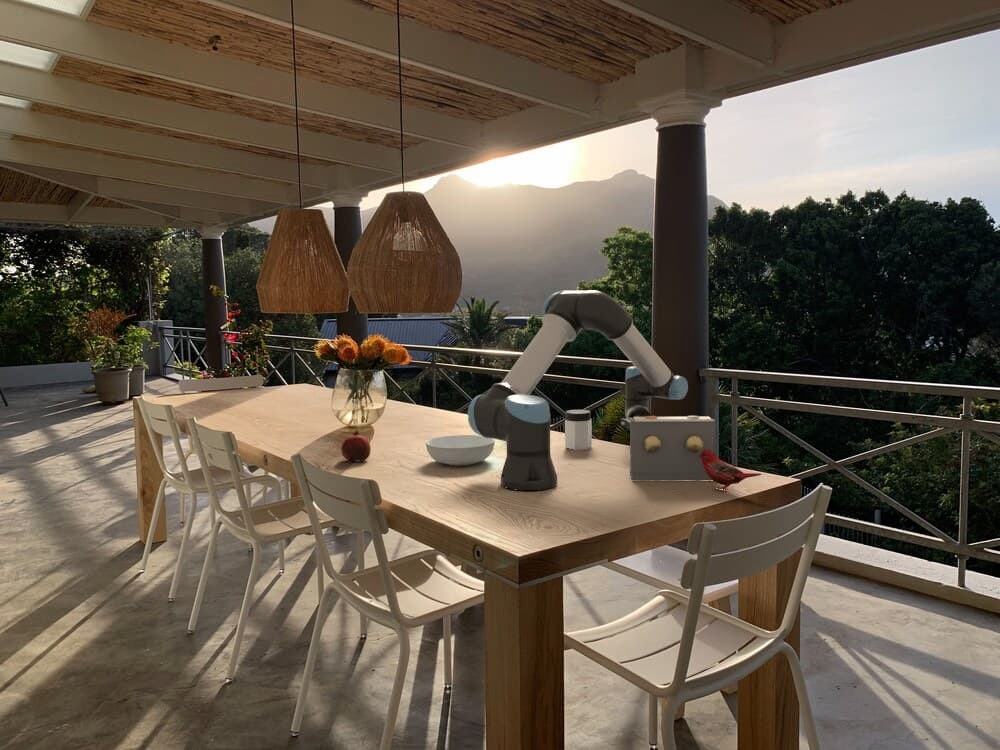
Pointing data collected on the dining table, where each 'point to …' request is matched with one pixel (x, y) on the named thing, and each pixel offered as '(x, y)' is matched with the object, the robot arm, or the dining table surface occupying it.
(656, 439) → the brass knob
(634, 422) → the console
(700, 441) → the knob
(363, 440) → the fruit
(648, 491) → the dining table surface
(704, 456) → the decorative bird figurine
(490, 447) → the serving bowl
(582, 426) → the jar
